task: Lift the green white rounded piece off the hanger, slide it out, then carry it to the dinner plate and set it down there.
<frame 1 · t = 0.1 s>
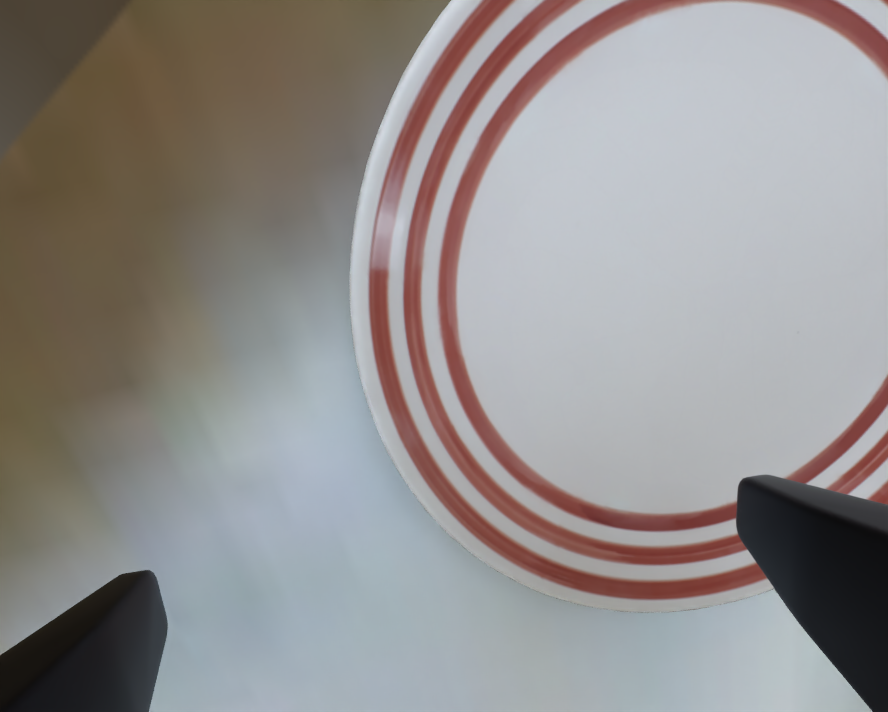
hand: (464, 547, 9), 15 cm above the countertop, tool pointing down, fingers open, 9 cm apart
dinner plate: (685, 282, 24), on the countertop
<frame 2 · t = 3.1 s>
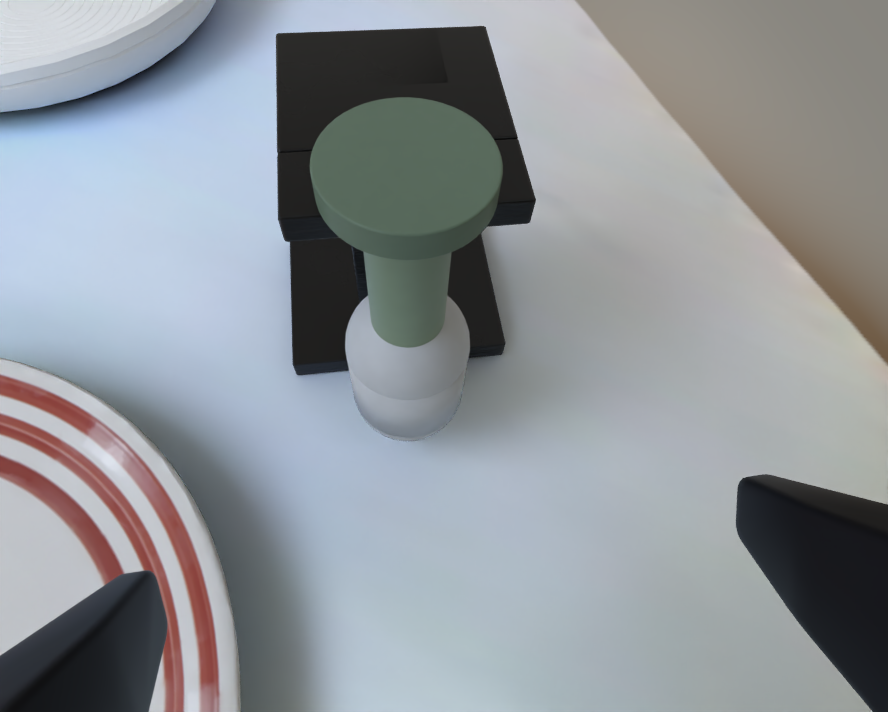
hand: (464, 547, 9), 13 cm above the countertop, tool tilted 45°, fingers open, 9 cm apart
green white rounded piece: (408, 408, 23), point 1 cm above the countertop, touching hanger
hanger: (408, 418, 24), on the countertop
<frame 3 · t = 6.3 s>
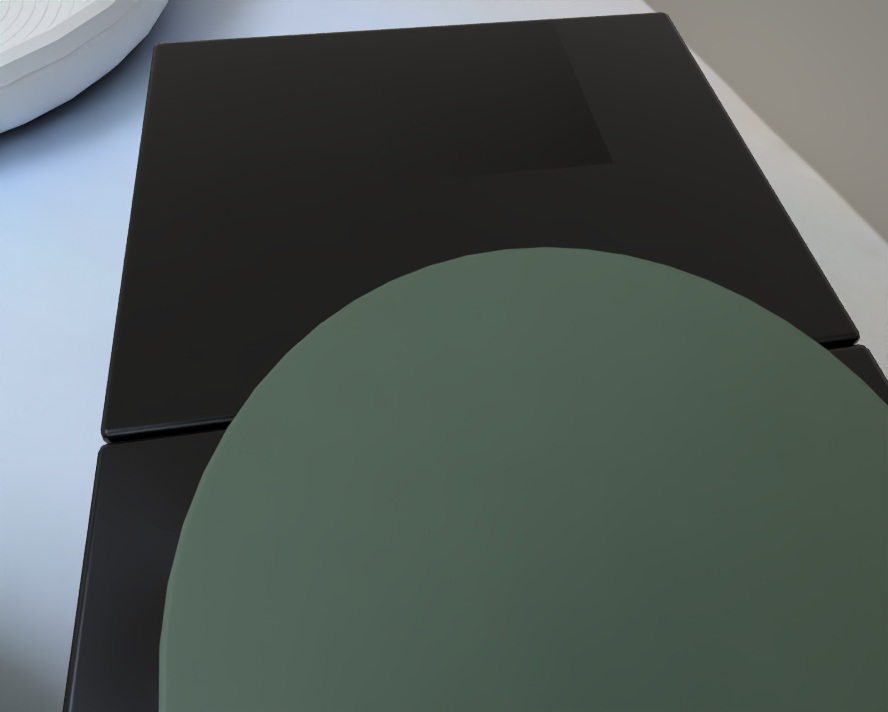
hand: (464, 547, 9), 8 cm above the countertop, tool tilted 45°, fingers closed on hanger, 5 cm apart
green white rounded piece: (455, 664, 14), point 1 cm above the countertop, touching hanger
hanger: (453, 666, 15), on the countertop
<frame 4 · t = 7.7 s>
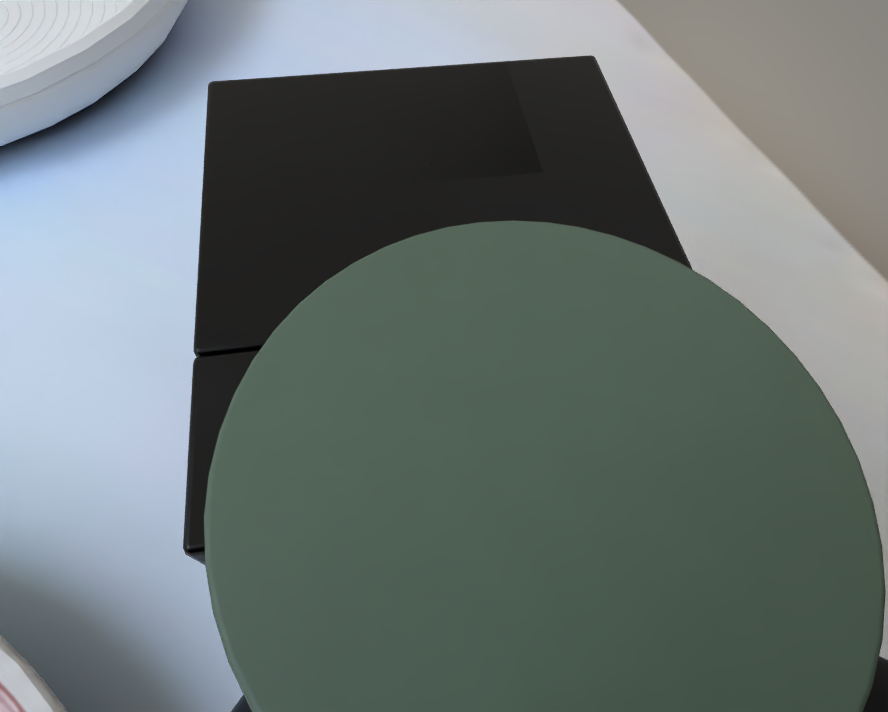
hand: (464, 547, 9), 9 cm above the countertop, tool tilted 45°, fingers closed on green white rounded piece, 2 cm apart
green white rounded piece: (450, 636, 15), point 2 cm above the countertop, touching gripper
hanger: (442, 604, 17), on the countertop
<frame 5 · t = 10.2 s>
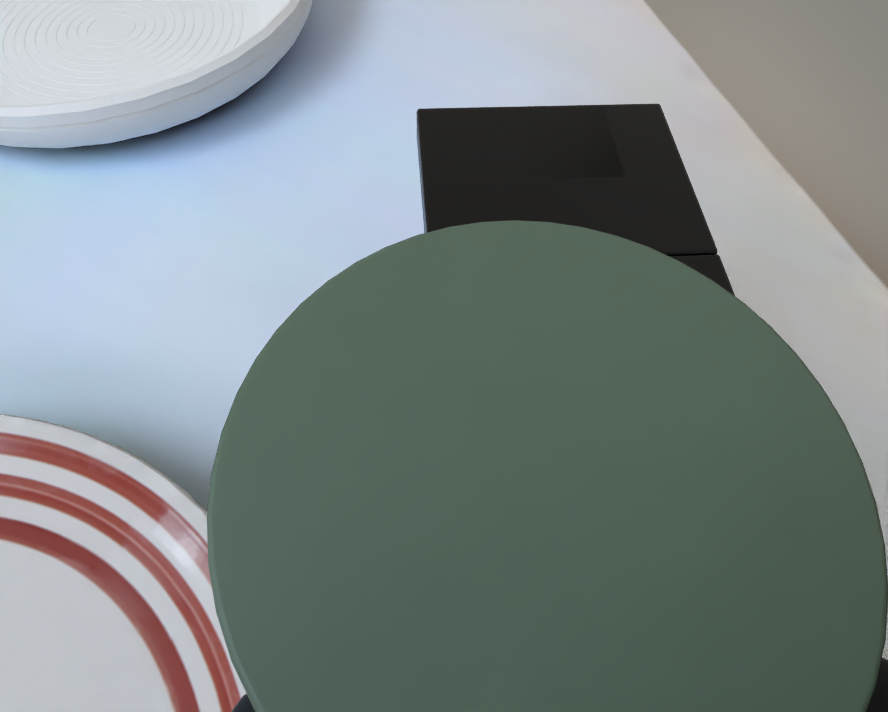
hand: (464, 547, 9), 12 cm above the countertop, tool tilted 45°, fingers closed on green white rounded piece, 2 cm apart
green white rounded piece: (451, 636, 15), point 5 cm above the countertop, touching gripper
hanger: (502, 511, 22), on the countertop
when the fingers open (10 cm above the countertop, at t = 13.0 s): green white rounded piece moves 2 cm and tips over, resting on dinner plate.
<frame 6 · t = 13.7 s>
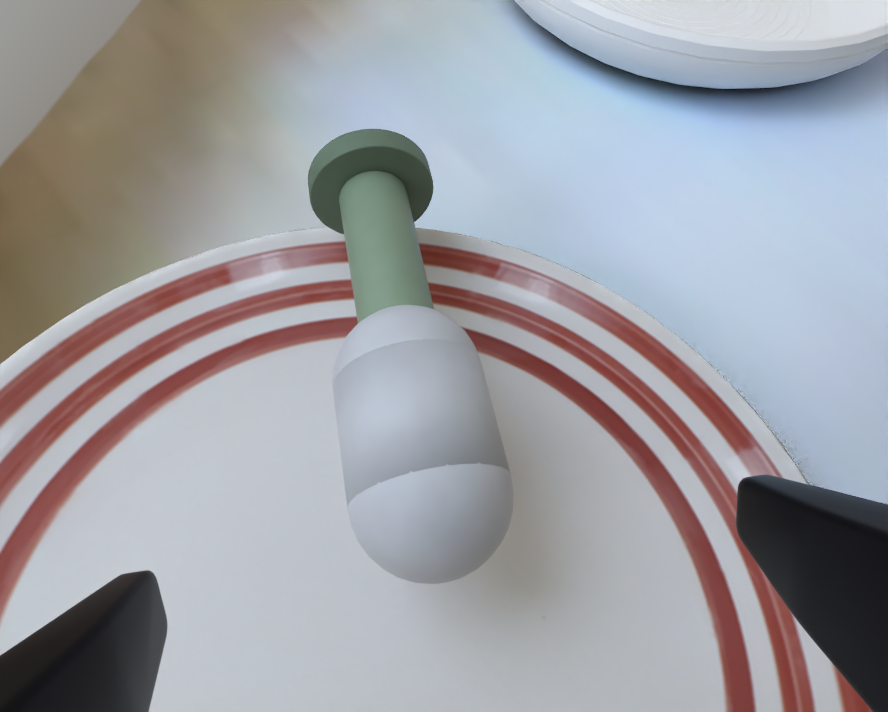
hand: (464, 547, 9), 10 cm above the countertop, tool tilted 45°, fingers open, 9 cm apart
green white rounded piece: (447, 581, 13), point 5 cm above the countertop, tilted 90°, touching dinner plate
dinner plate: (370, 643, 17), on the countertop, touching green white rounded piece
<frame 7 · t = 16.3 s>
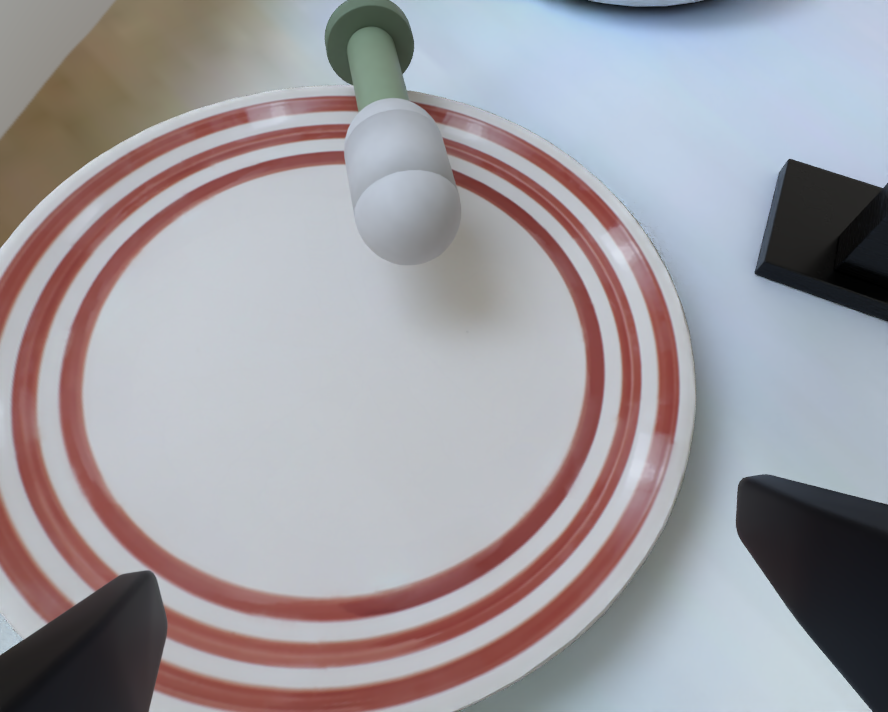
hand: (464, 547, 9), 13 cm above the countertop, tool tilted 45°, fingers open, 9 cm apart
green white rounded piece: (417, 252, 21), point 5 cm above the countertop, tilted 90°, touching dinner plate
hanger: (845, 351, 26), on the countertop
dinner plate: (348, 354, 25), on the countertop, touching green white rounded piece
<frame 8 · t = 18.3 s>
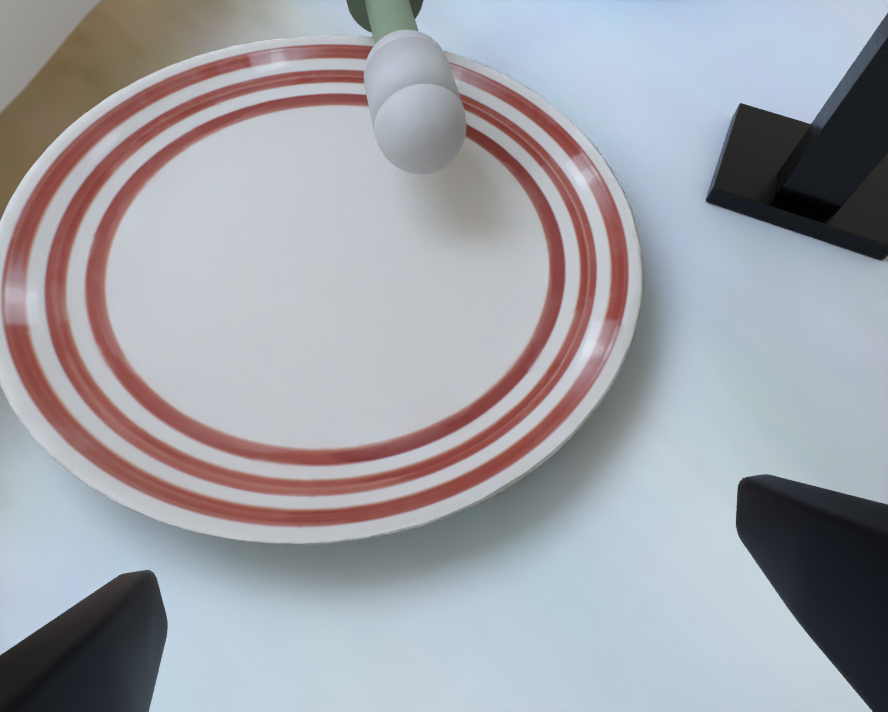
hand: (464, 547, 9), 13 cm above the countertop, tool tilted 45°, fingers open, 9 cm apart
green white rounded piece: (428, 157, 24), point 5 cm above the countertop, tilted 90°, touching dinner plate
hanger: (783, 265, 29), on the countertop
dinner plate: (339, 266, 28), on the countertop, touching green white rounded piece
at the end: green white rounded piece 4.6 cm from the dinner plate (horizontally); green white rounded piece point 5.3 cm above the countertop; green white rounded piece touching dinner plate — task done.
